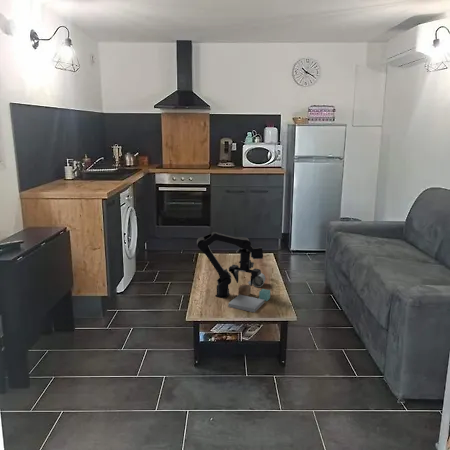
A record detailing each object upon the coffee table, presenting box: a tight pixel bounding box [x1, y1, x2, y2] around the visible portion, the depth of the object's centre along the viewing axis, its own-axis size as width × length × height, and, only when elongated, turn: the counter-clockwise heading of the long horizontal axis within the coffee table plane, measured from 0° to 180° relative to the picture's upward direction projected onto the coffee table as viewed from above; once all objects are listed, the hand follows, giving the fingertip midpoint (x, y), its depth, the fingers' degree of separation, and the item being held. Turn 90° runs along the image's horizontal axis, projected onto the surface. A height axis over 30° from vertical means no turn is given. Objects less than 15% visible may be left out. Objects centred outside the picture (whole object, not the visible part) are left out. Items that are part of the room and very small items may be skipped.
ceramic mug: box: [247, 272, 266, 288], centre depth 278 cm, size 11×8×8 cm
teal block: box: [258, 288, 271, 302], centre depth 258 cm, size 5×5×5 cm
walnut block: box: [237, 283, 252, 297], centre depth 263 cm, size 6×6×6 cm
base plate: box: [227, 295, 265, 313], centre depth 250 cm, size 16×14×2 cm
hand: (244, 283), depth 262 cm, fingers open, 9 cm apart
